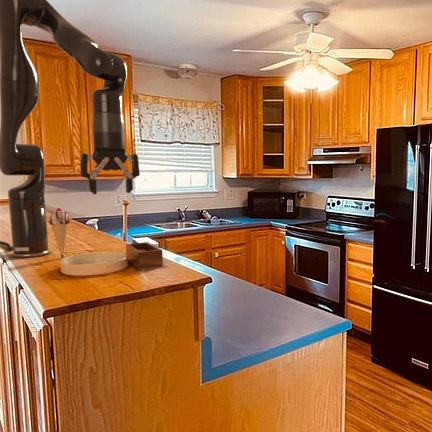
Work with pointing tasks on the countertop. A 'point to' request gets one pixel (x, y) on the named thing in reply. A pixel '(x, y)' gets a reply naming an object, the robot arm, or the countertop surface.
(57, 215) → the ice cream cone
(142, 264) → the holder
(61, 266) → the bowl
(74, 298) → the countertop surface
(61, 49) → the robot arm
